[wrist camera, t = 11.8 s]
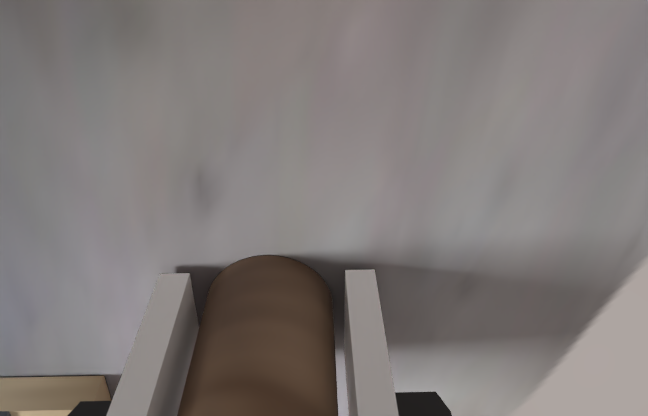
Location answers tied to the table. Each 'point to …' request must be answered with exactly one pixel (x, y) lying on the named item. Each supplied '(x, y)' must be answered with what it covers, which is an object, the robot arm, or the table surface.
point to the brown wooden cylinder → (264, 344)
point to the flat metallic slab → (49, 394)
